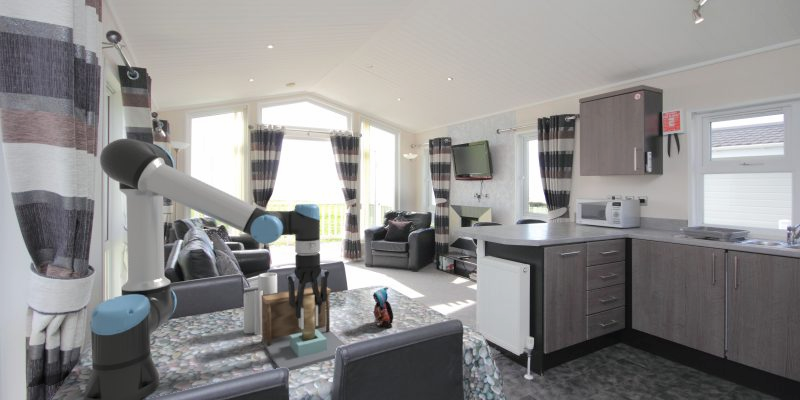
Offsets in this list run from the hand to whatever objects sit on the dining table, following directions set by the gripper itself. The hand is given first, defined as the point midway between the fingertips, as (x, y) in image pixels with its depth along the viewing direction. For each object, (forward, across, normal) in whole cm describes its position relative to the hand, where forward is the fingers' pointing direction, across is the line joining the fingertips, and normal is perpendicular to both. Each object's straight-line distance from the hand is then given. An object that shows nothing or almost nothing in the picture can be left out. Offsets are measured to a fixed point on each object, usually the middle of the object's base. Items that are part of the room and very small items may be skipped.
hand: (308, 325), depth 113 cm
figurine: (+8, +30, +5) cm, 31 cm away
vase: (+8, -9, +25) cm, 28 cm away
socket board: (+8, 0, +3) cm, 9 cm away
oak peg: (+4, 0, 0) cm, 4 cm away
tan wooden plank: (+8, 0, +11) cm, 14 cm away
